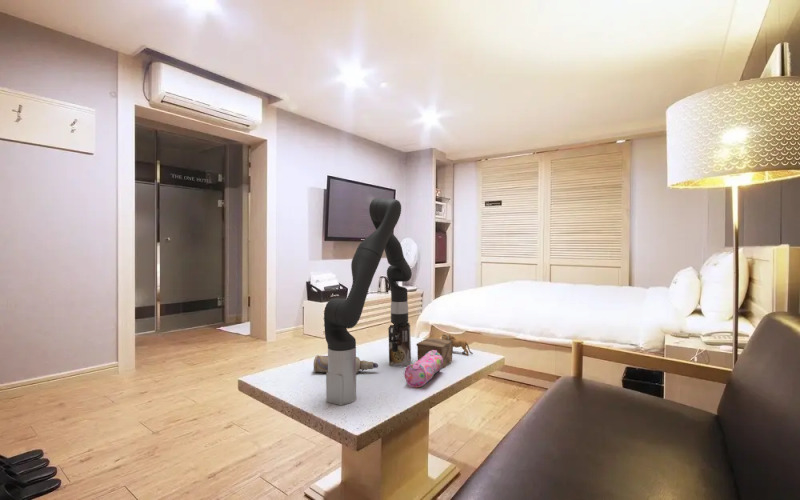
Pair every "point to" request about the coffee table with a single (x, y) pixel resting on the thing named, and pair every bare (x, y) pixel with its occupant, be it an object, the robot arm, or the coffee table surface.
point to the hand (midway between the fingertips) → (399, 349)
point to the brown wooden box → (436, 348)
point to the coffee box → (401, 348)
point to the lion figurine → (457, 343)
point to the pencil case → (423, 369)
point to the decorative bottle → (322, 364)
